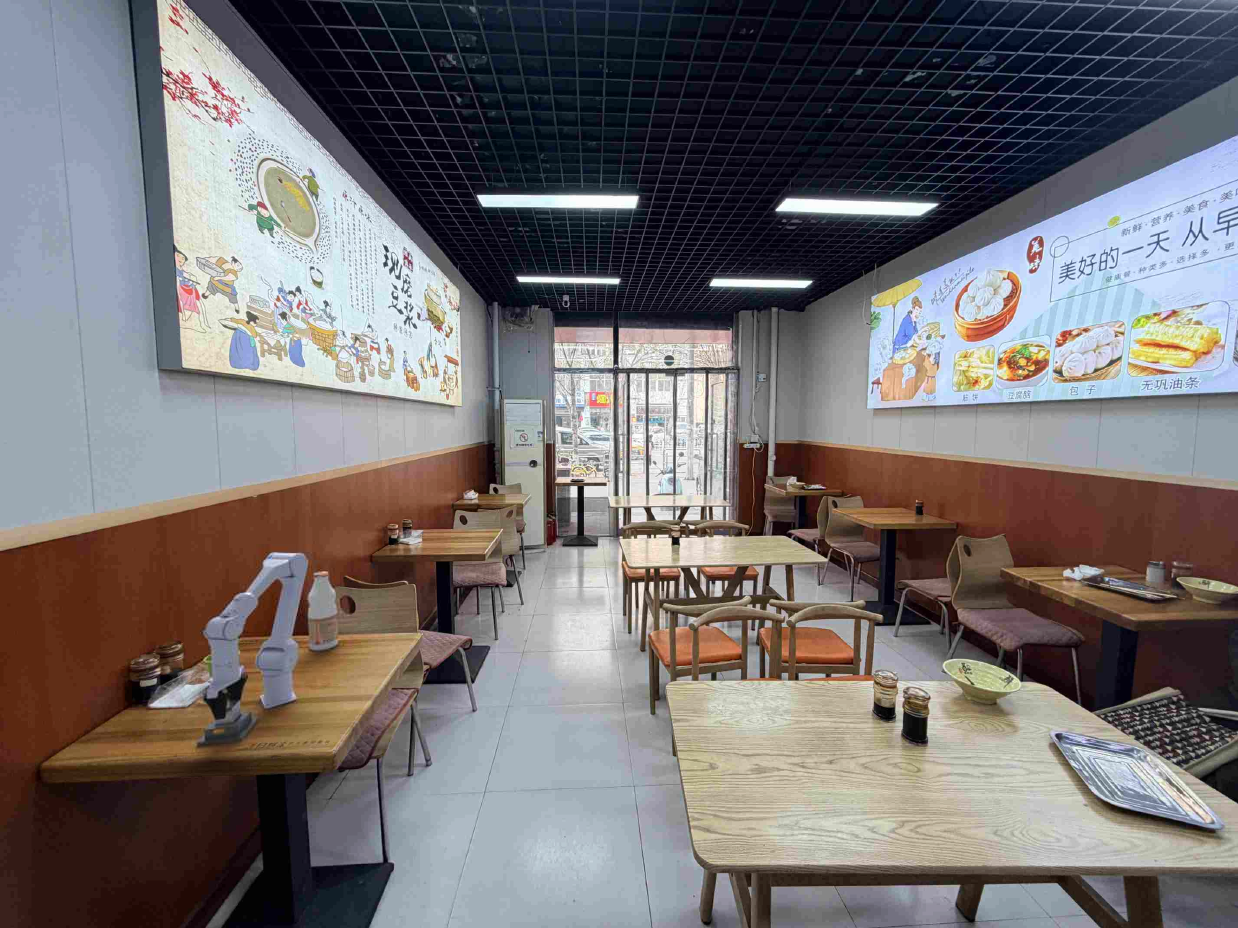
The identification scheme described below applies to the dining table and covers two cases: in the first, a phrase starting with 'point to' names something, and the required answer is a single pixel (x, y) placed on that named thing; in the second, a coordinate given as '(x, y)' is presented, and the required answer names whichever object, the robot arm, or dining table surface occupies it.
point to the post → (231, 713)
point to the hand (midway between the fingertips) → (227, 711)
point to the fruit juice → (322, 614)
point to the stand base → (228, 730)
